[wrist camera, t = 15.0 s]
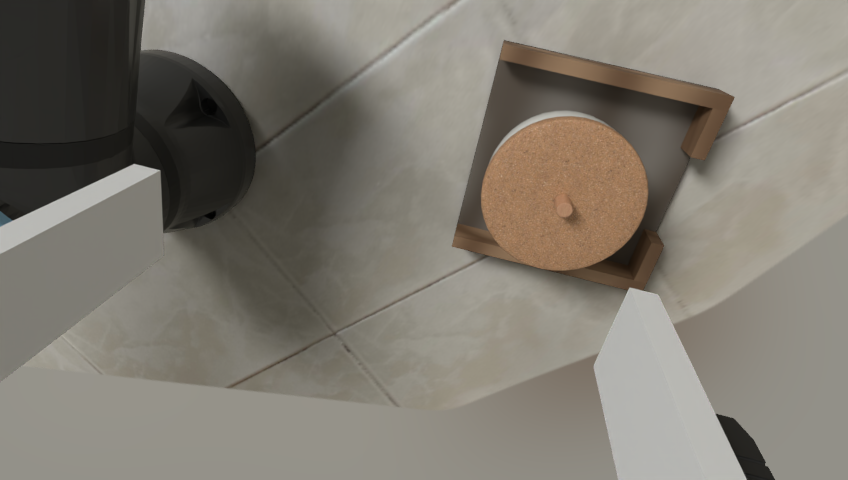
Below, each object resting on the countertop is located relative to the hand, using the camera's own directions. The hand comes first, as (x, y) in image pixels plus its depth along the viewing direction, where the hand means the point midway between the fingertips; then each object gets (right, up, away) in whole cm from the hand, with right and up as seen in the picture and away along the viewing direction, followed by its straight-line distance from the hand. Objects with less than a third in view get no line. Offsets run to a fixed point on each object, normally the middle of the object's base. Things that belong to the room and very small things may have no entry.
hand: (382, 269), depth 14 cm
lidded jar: (+12, +7, +27) cm, 30 cm away
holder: (+13, +7, +27) cm, 31 cm away
